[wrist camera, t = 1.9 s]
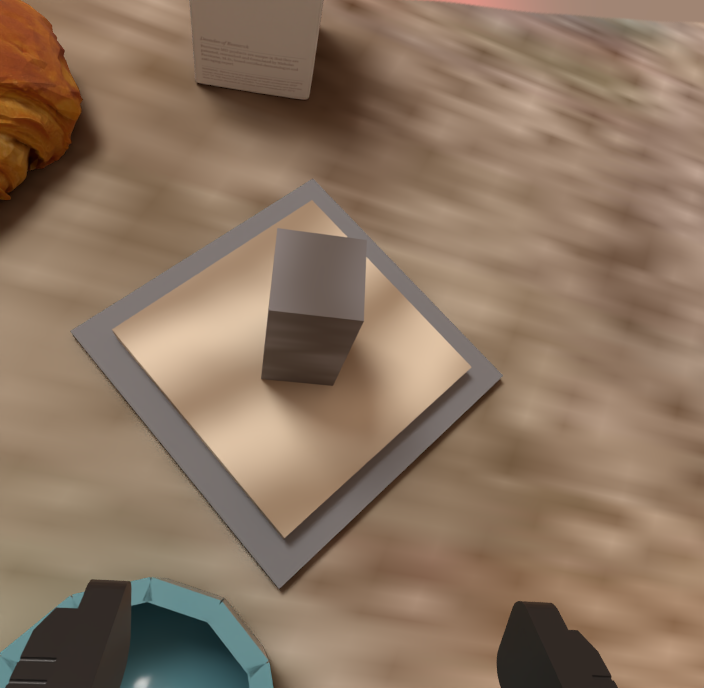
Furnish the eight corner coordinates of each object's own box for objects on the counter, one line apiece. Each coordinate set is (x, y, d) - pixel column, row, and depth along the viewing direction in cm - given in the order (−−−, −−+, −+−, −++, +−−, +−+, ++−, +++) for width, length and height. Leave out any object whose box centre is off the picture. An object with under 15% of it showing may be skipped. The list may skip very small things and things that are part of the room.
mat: (72, 335, 30) (70, 331, 29) (311, 183, 36) (312, 178, 35) (278, 588, 27) (279, 588, 26) (499, 378, 33) (503, 375, 32)
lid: (115, 335, 29) (69, 242, 21) (310, 208, 34) (332, 93, 26) (283, 539, 27) (302, 520, 19) (466, 372, 32) (542, 301, 24)
